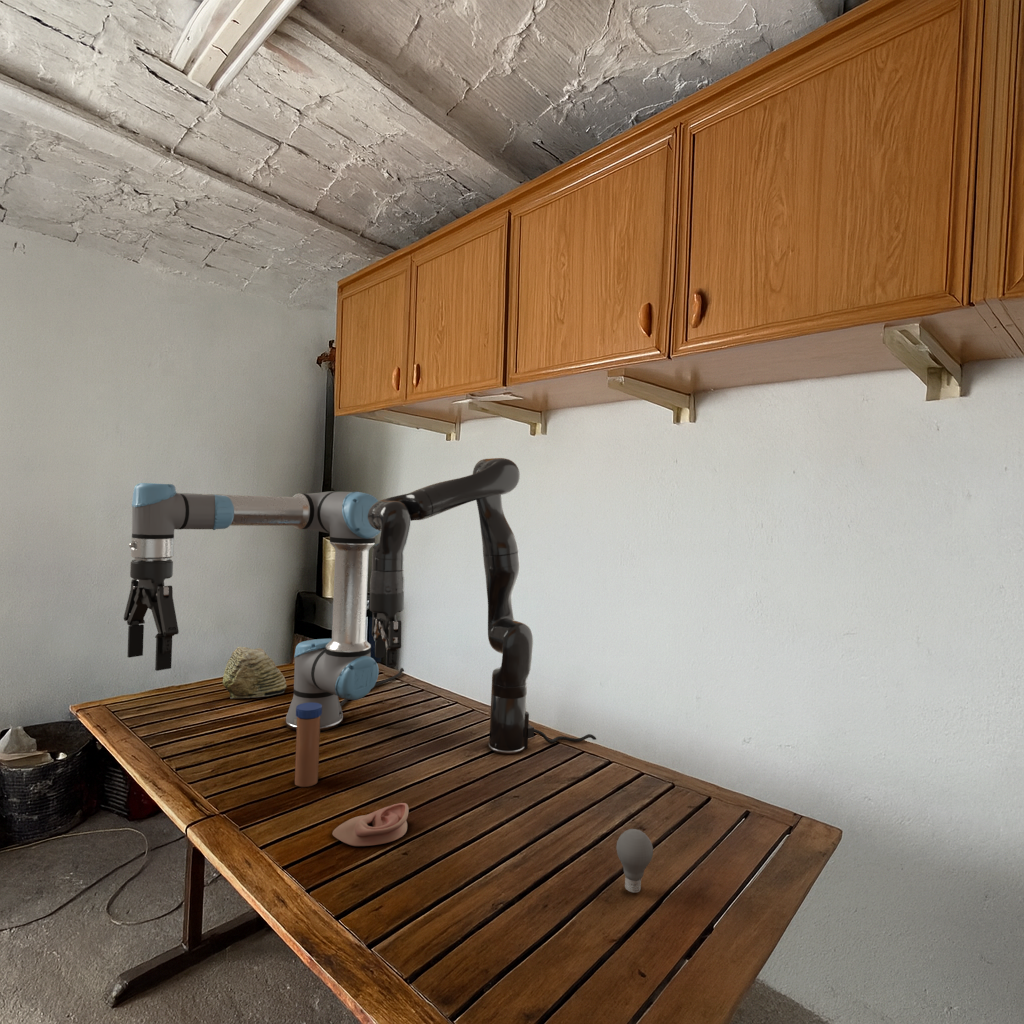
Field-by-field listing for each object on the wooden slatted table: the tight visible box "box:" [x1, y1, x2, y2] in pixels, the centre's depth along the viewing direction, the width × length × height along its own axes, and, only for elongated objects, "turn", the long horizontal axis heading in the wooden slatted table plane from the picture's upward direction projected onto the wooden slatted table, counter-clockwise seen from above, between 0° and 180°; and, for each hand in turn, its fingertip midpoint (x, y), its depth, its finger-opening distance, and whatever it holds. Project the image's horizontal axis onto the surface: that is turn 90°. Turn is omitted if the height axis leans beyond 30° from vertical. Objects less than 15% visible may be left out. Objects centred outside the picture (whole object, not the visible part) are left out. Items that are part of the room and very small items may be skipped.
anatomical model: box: [332, 802, 410, 847], centre depth 121 cm, size 13×4×12 cm
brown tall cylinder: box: [294, 716, 321, 788], centre depth 140 cm, size 5×5×16 cm
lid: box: [296, 703, 322, 719], centre depth 140 cm, size 6×6×2 cm
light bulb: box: [615, 828, 654, 894], centre depth 106 cm, size 6×6×10 cm
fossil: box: [222, 646, 288, 699], centre depth 198 cm, size 9×18×15 cm, turn 132°
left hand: (148, 662), depth 129 cm, fingers open, 13 cm apart
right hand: (385, 661), depth 142 cm, fingers open, 8 cm apart
